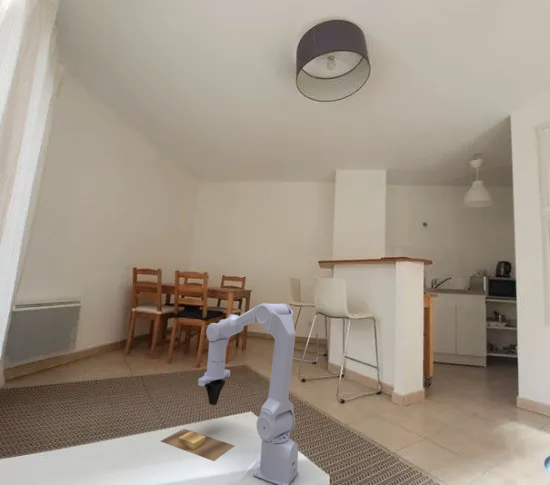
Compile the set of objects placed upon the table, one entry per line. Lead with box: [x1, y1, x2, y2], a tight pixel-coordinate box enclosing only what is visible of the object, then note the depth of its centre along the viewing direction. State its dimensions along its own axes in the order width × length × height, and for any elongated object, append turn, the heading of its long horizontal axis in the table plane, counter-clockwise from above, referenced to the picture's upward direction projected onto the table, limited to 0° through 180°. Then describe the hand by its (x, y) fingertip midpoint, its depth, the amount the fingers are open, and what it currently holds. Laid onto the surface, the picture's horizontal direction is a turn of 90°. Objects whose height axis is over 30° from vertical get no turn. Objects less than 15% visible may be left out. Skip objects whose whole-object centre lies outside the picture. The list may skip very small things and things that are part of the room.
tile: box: [178, 430, 207, 451], centre depth 92 cm, size 6×5×2 cm
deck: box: [160, 428, 236, 462], centre depth 92 cm, size 20×10×2 cm, turn 63°
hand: (212, 404), depth 101 cm, fingers closed
